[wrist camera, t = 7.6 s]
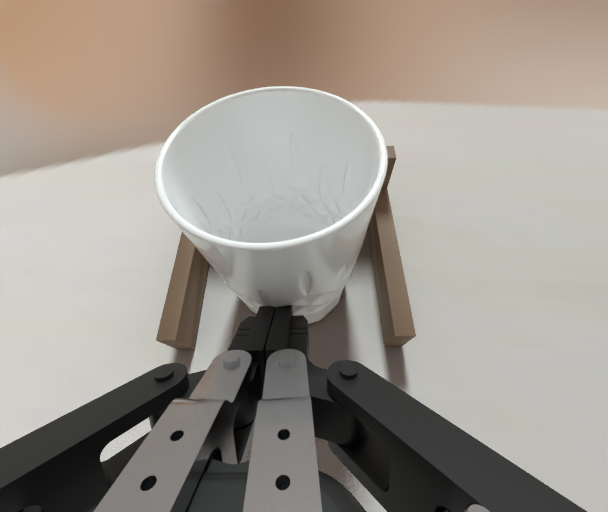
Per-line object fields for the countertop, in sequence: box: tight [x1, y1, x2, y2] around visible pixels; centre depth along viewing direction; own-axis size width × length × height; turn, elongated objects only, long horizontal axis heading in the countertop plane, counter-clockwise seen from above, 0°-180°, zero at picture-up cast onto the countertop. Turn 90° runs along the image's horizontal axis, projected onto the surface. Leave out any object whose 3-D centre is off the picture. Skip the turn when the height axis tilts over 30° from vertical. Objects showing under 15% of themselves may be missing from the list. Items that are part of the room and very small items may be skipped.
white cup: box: [155, 86, 388, 324], centre depth 14 cm, size 8×8×10 cm
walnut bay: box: [156, 146, 416, 349], centre depth 17 cm, size 13×10×5 cm
